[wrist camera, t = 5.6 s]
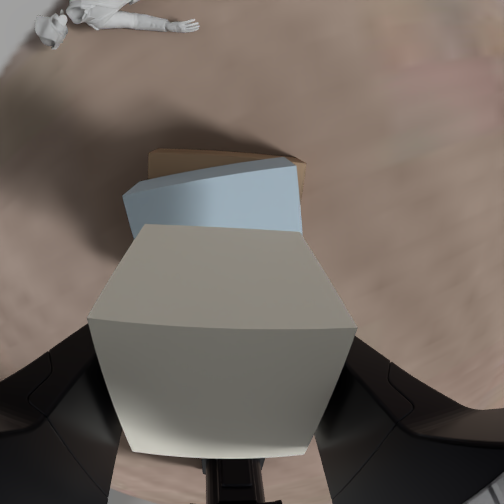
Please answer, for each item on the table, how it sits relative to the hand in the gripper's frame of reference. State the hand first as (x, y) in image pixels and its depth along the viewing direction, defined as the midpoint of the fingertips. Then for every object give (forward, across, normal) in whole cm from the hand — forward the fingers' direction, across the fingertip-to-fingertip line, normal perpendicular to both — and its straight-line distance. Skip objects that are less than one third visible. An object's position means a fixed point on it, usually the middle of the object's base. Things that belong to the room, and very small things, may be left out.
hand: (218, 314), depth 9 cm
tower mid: (+6, 0, 0) cm, 6 cm away
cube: (+1, 0, 0) cm, 1 cm away
